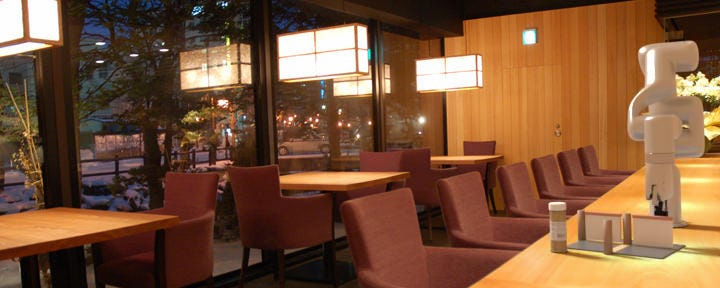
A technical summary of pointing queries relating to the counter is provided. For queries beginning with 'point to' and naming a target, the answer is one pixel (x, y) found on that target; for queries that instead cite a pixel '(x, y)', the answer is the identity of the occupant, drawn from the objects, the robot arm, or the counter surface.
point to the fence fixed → (604, 228)
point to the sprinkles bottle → (558, 227)
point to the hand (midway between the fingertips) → (661, 224)
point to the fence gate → (653, 230)
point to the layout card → (627, 248)
